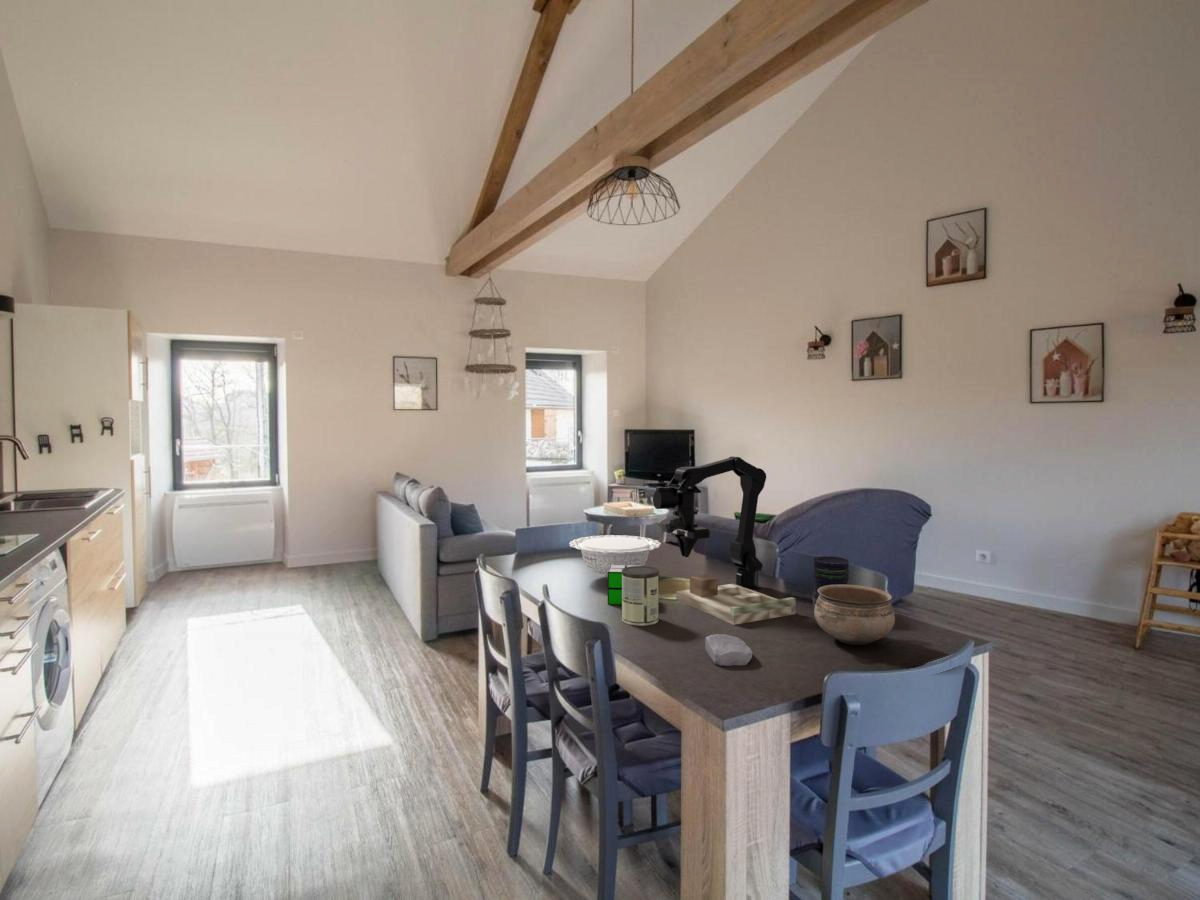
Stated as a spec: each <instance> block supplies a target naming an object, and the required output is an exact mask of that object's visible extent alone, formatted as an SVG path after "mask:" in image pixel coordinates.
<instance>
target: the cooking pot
mask: <svg viewBox="0 0 1200 900" xmlns="http://www.w3.org/2000/svg"><path fill="white" fill-rule="evenodd" d="M818 593H819V594H820V595H819V597H818V599H817V601H816V604H815V608H814V611H813V615H814V619H815V620H816V623H817V625H818V626H819V627H820V628H821V629H822V630H823V631H824V632H825V633H827V634H828V635H830V636H832V637H833V638H834V639H836V640H837V641H839V642H840V643H842V644H844V643H845V644H846V645H848V644H849V645H850V646H854V645H862V646H865V645H868V644H870V643H873V642H876V641H878V640H881V639H883V638H884V637H886V636H888V634H890V632H892V629H893V627H894V626H895V622H896V615H895V612H894V608H893V605H892V603H891V601H892V598H893V595H892V594H890V593H889V592H887V591H885V590H882V589H880V588H876V587H870V586H864V585H857V584H847V585H827V586H823V587H820V588H819V589H818ZM849 645H848V646H849Z"/></svg>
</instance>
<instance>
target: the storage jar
mask: <svg viewBox="0 0 1200 900" xmlns="http://www.w3.org/2000/svg"><path fill="white" fill-rule="evenodd" d="M849 564H850V561H849V560H848V559H846V558H843V557H838V556H826V555H825V556H817V557H814V558H813V567H812V568H813V569H812V570H813V571H812V572H813V573H812V576H813V590H812V605H813V606H812V611H813V612H814V608H815V604H816V601H817V599H818V597H819V595H820V594H819V593H818V589H819V588H820V587H823V586H827V585H849V584H848V582H849V581H850V579H849V578H850V577H849V575H850V565H849Z"/></svg>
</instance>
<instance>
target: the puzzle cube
mask: <svg viewBox="0 0 1200 900" xmlns="http://www.w3.org/2000/svg"><path fill="white" fill-rule="evenodd" d="M609 566H610V565H609ZM631 566H638V564H637V565H636V564H634V565H627V566H626V565H611V566H610V568H609V571H608V576H607V605H609V606H610V605H611V606H622V569H623V568H626V567H631Z"/></svg>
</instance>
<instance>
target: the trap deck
mask: <svg viewBox="0 0 1200 900" xmlns="http://www.w3.org/2000/svg"><path fill="white" fill-rule="evenodd" d="M676 598H677V600H676V601H678V602H680V603H683V604H685V605H687V606H690V607H692V608H694V609H696V610H699V611H701V612H704V613H706V614H708V615H710V616H713V617H714V618H717V619H719V620H722V621H723V622H726V623H728V624H731V625H732V626H735V625H742V624H746V623H753V622H757V621H758V622H759V621H763V620H771V619H775V618H780V617H787V616H788V617H789V616H792V615H796V602H797V601H796V600H797V599H796V598H795V597H793V596H791V597H785V598H779V599H778V598H775V597H772V596H769V595H767V594H764V593H761V592H758V591H756V590H754V589H747V588H744V587H741V586H739V585H736V583H728V584H722V585H721V584H720V585H718V595H715V596H708V597H699V596H697V595H694V594H692V593H690V589H685V590H678V591H675V599H676Z"/></svg>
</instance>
